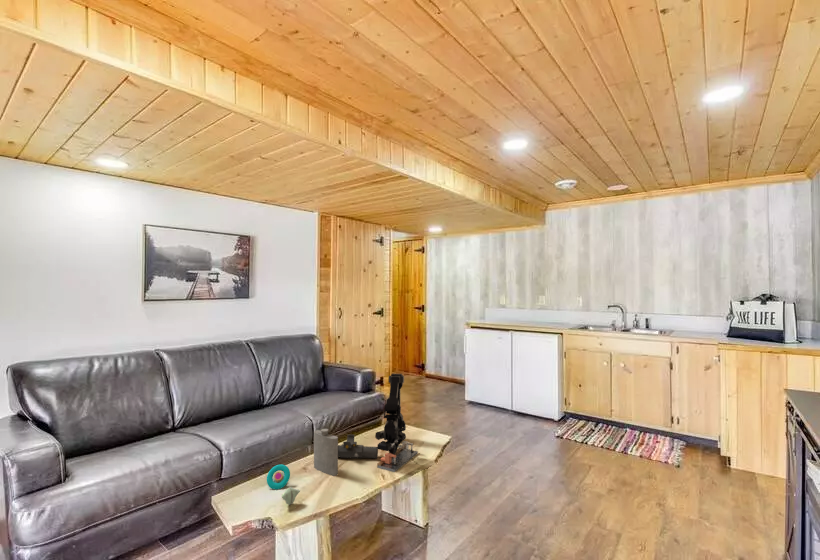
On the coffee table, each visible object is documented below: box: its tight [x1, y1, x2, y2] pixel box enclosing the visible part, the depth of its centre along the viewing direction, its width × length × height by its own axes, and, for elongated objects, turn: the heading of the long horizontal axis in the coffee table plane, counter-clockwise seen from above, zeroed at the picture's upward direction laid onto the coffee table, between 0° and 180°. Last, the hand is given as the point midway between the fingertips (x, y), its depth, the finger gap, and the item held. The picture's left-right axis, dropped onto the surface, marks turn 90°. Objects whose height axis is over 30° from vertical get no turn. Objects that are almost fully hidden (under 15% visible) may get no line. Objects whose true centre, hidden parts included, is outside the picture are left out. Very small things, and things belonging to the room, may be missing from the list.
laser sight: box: [338, 434, 379, 460], centre depth 213 cm, size 10×22×10 cm, turn 86°
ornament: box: [266, 463, 291, 490], centre depth 184 cm, size 11×4×10 cm
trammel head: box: [380, 452, 396, 464], centre depth 203 cm, size 2×8×4 cm, turn 61°
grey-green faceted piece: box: [281, 486, 301, 506], centre depth 168 cm, size 8×4×7 cm, turn 130°
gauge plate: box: [376, 440, 419, 473], centre depth 209 cm, size 24×10×6 cm, turn 151°
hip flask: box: [313, 428, 339, 477], centre depth 198 cm, size 16×4×20 cm, turn 52°
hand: (392, 457), depth 207 cm, fingers closed
